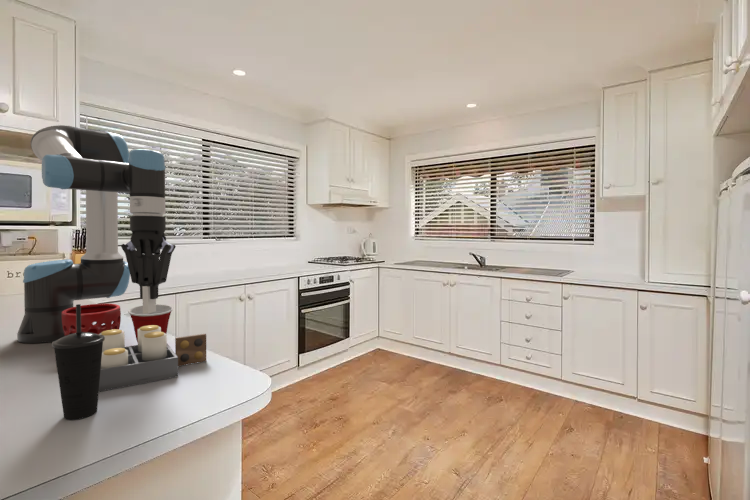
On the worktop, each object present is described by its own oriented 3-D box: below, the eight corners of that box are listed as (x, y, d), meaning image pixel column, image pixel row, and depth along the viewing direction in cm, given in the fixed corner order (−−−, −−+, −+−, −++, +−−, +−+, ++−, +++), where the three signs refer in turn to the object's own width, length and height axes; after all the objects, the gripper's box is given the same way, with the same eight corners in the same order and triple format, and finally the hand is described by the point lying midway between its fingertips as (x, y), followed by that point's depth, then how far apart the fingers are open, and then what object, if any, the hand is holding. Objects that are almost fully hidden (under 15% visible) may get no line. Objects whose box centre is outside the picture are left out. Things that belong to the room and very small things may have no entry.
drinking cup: (72, 405, 76) (70, 300, 75) (114, 404, 76) (112, 300, 75) (42, 424, 68) (39, 308, 67) (89, 423, 69) (87, 308, 68)
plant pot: (62, 349, 110) (61, 306, 110) (119, 341, 118) (118, 301, 118) (62, 361, 100) (60, 314, 99) (123, 352, 108) (122, 308, 107)
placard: (175, 365, 98) (175, 337, 98) (205, 360, 103) (205, 333, 102) (176, 366, 97) (176, 338, 97) (206, 361, 102) (206, 334, 101)
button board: (90, 370, 94) (89, 351, 94) (165, 358, 104) (165, 341, 104) (92, 392, 81) (92, 371, 81) (178, 376, 91) (178, 357, 91)
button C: (100, 373, 88) (100, 349, 87) (127, 369, 91) (126, 345, 90) (101, 380, 84) (101, 355, 83) (129, 375, 87) (129, 351, 86)
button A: (98, 353, 94) (98, 330, 93) (123, 349, 97) (123, 327, 96) (99, 359, 90) (99, 335, 89) (125, 355, 93) (125, 332, 92)
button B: (136, 348, 98) (136, 326, 98) (159, 344, 101) (159, 323, 101) (139, 353, 94) (138, 330, 94) (162, 349, 97) (162, 327, 97)
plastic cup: (128, 359, 102) (128, 313, 102) (128, 348, 111) (127, 306, 111) (175, 353, 108) (175, 309, 108) (171, 343, 117) (171, 303, 117)
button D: (140, 356, 92) (140, 333, 92) (164, 352, 95) (164, 330, 95) (143, 361, 88) (143, 337, 88) (168, 357, 91) (168, 334, 91)
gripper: (111, 214, 93) (113, 314, 94) (162, 214, 92) (163, 316, 92) (135, 216, 101) (136, 308, 102) (182, 216, 99) (183, 310, 100)
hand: (149, 312), depth 97 cm, fingers closed
